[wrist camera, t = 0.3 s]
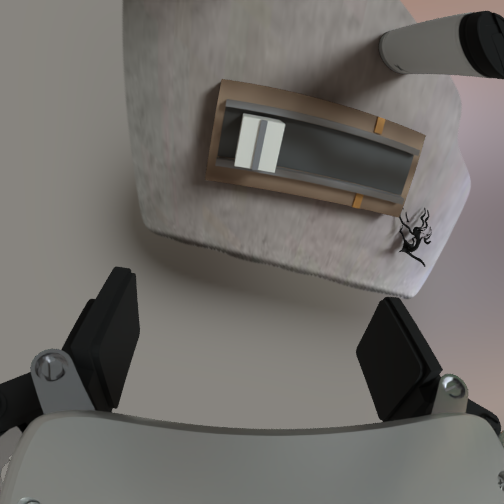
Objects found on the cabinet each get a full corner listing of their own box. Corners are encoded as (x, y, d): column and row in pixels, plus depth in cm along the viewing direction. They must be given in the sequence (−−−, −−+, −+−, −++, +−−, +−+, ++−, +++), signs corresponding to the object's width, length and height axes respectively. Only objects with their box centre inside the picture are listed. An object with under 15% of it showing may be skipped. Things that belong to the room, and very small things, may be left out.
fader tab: (243, 113, 31) (243, 116, 26) (278, 119, 31) (285, 124, 27) (235, 155, 33) (234, 166, 29) (269, 161, 34) (274, 173, 29)
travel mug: (391, 81, 32) (500, 92, 14) (370, 36, 29) (471, 11, 11) (425, 69, 30) (536, 79, 13) (406, 26, 27) (512, 8, 10)
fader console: (223, 80, 32) (221, 78, 28) (414, 131, 35) (430, 137, 31) (207, 173, 37) (203, 182, 34) (390, 209, 41) (402, 221, 37)
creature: (403, 194, 41) (380, 241, 43) (424, 200, 36) (399, 253, 38) (434, 217, 43) (413, 260, 45) (455, 225, 38) (432, 272, 39)
